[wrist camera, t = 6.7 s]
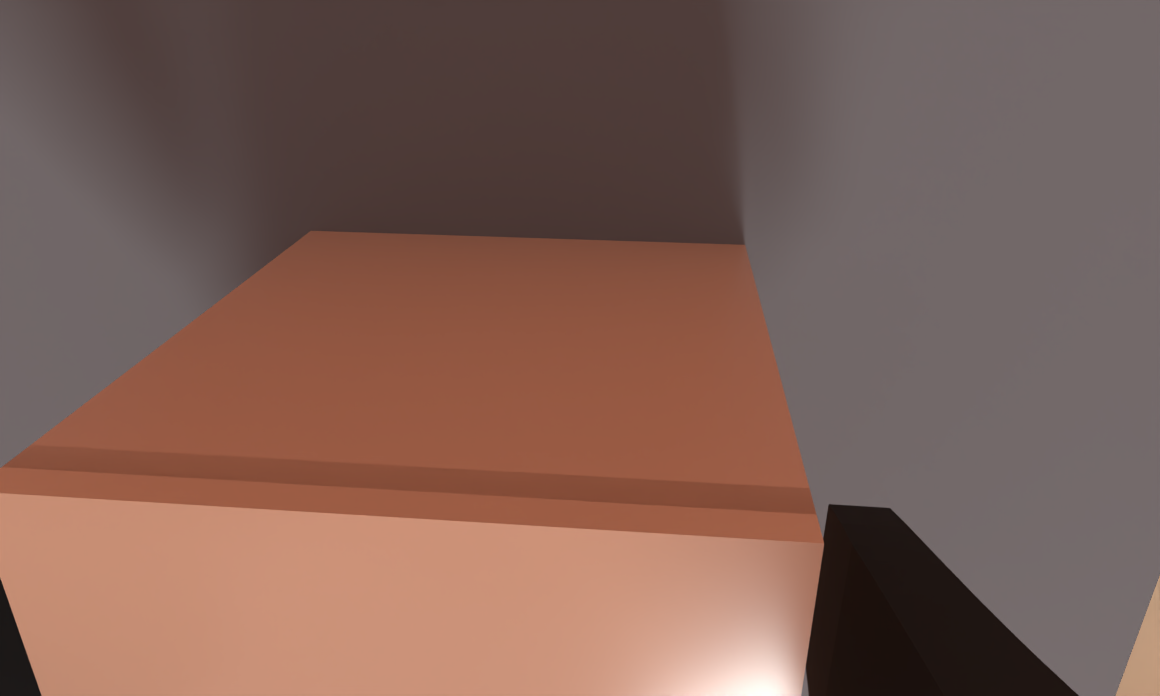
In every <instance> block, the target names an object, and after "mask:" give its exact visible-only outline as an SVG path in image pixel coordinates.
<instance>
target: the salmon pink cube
mask: <svg viewBox="0 0 1160 696" xmlns="http://www.w3.org/2000/svg"><path fill="white" fill-rule="evenodd" d="M823 548H824V541H823V537H822V533H821V530H820V526H819V522H818V518H817V514H816V511H815V507H814V503H813V499H812V496H811V492H810V488H809V484H808V480H807V477H806V473H805V469H804V465H803V462H802V458H801V454H800V450H799V446H798V443H797V439H796V435H795V431H794V428H793V424H792V420H791V416H790V412H789V409H788V405H787V401H786V397H785V393H784V390H783V386H782V382H781V378H780V375H779V371H778V367H777V363H776V359H775V356H774V352H773V348H772V344H771V341H770V337H769V333H768V329H767V325H766V322H765V318H764V314H763V310H762V307H761V303H760V299H759V295H758V291H757V288H756V284H755V280H754V276H753V273H752V269H751V265H750V261H749V257H748V254H747V250H746V246H745V245H734V244H703V243H672V242H641V241H610V240H580V239H549V238H518V237H487V236H456V235H426V234H395V233H364V232H333V231H310V232H309V233H307V234H306V235H305V236H303V237H302V238H301V239H300V240H298V241H297V242H296V243H294V244H293V245H292V246H290V247H289V248H288V249H286V250H285V251H284V252H283V253H281V254H280V255H279V256H277V257H276V258H275V259H273V260H272V261H271V262H269V263H268V264H267V265H266V266H264V267H263V268H262V269H260V270H259V271H258V272H256V273H255V274H254V275H252V276H251V277H250V278H249V279H247V280H246V281H245V282H243V283H242V284H241V285H239V286H238V287H237V288H235V289H234V290H233V291H231V292H230V293H229V294H228V295H226V296H225V297H224V298H222V299H221V300H220V301H218V302H217V303H216V304H214V305H213V306H212V307H211V308H209V309H208V310H207V311H205V312H204V313H203V314H201V315H200V316H199V317H197V318H196V319H195V320H194V321H192V322H191V323H190V324H188V325H187V326H186V327H184V328H183V329H182V330H180V331H179V332H178V333H177V334H175V335H174V336H173V337H171V338H170V339H169V340H167V341H166V342H165V343H163V344H162V345H161V346H160V347H158V348H157V349H156V350H154V351H153V352H152V353H150V354H149V355H148V356H146V357H145V358H144V359H143V360H141V361H140V362H139V363H137V364H136V365H135V366H133V367H132V368H131V369H129V370H128V371H127V372H125V373H124V374H123V375H122V376H120V377H119V378H118V379H116V380H115V381H114V382H112V383H111V384H110V385H108V386H107V387H106V388H105V389H103V390H102V391H101V392H99V393H98V394H97V395H95V396H94V397H93V398H91V399H90V400H89V401H88V402H86V403H85V404H84V405H82V406H81V407H80V408H78V409H77V410H76V411H74V412H73V413H72V414H71V415H69V416H68V417H67V418H65V419H64V420H63V421H61V422H60V423H59V424H57V425H56V426H55V427H54V428H52V429H51V430H50V431H48V432H47V433H46V434H44V435H43V436H42V437H40V438H39V439H38V440H37V441H35V442H34V443H33V444H31V445H30V446H29V447H27V448H26V449H25V450H23V451H22V452H21V453H19V454H18V455H17V456H16V457H14V458H13V459H12V460H10V461H9V462H8V463H6V464H5V465H4V466H2V467H1V468H0V578H1V581H2V584H3V587H4V590H5V593H6V595H7V598H8V601H9V604H10V607H11V610H12V613H13V615H14V618H15V621H16V624H17V627H18V630H19V633H20V635H21V638H22V641H23V644H24V647H25V650H26V653H27V655H28V658H29V661H30V664H31V667H32V670H33V673H34V675H35V678H36V681H37V684H38V687H39V690H40V693H41V695H42V696H801V693H802V687H803V680H804V673H805V667H806V660H807V654H808V647H809V640H810V634H811V627H812V621H813V614H814V607H815V601H816V594H817V588H818V581H819V574H820V568H821V561H822V555H823Z"/></svg>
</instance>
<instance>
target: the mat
mask: <svg viewBox="0 0 1160 696" xmlns="http://www.w3.org/2000/svg"><path fill="white" fill-rule="evenodd" d="M310 231H333V232H364V233H395V234H426V235H456V236H487V237H518V238H549V239H580V240H610V241H641V242H672V243H703V244H734V245H745V246H746V250H747V254H748V257H749V261H750V265H751V269H752V273H753V276H754V280H755V284H756V288H757V291H758V295H759V299H760V303H761V307H762V310H763V314H764V318H765V322H766V325H767V329H768V333H769V337H770V341H771V344H772V348H773V352H774V356H775V359H776V363H777V367H778V371H779V375H780V378H781V382H782V386H783V390H784V393H785V397H786V401H787V405H788V409H789V412H790V416H791V420H792V424H793V428H794V431H795V435H796V439H797V443H798V446H799V450H800V454H801V458H802V462H803V465H804V469H805V473H806V477H807V480H808V484H809V488H810V492H811V496H812V499H813V503H814V507H815V511H816V514H817V518H818V522H819V526H820V530H821V533H822V537H824V530H825V524H826V518H827V511H828V505H829V504H836V505H852V506H868V507H884V508H891V509H892V510H893V511H894V512H895V513H896V514H897V515H898V516H899V517H900V518H901V519H902V520H903V521H904V522H905V523H906V524H907V525H908V526H909V527H910V528H911V530H912V531H913V532H914V533H915V534H916V535H917V536H918V537H919V538H920V539H921V540H922V541H923V542H924V543H925V544H926V545H927V546H928V547H929V548H930V549H931V550H932V551H933V552H934V554H935V555H936V556H937V557H938V558H939V559H940V560H941V561H942V562H943V563H944V564H945V565H946V566H947V567H948V568H949V569H950V570H951V571H952V572H953V573H954V574H955V575H956V576H957V577H958V578H959V579H960V580H961V582H962V583H963V584H964V585H965V586H966V587H967V588H968V589H969V590H970V591H971V592H972V593H973V594H974V595H975V596H976V597H977V598H978V599H979V600H980V601H981V602H982V603H983V604H984V605H985V606H986V607H987V608H988V609H989V610H990V611H991V612H992V613H993V614H994V615H995V616H996V617H997V618H998V619H999V620H1000V621H1001V622H1002V623H1003V624H1004V625H1005V626H1006V627H1007V628H1008V629H1009V630H1010V631H1011V632H1012V633H1013V634H1014V635H1015V636H1016V637H1017V638H1018V639H1019V640H1020V641H1021V642H1022V643H1023V644H1024V645H1026V646H1027V647H1028V648H1029V649H1030V650H1031V651H1032V652H1033V653H1034V654H1035V655H1036V656H1037V657H1038V658H1039V659H1040V660H1041V661H1042V662H1043V663H1044V664H1045V665H1047V666H1048V667H1049V668H1050V669H1051V670H1052V671H1053V672H1054V673H1055V674H1056V675H1057V676H1058V677H1059V678H1060V679H1062V680H1063V681H1064V682H1065V683H1066V684H1067V685H1068V686H1069V687H1070V688H1071V689H1072V690H1073V691H1074V692H1076V693H1077V694H1078V695H1079V696H1115V695H1116V692H1117V690H1118V687H1119V684H1120V682H1121V679H1122V676H1123V673H1124V671H1125V668H1126V665H1127V663H1128V660H1129V657H1130V654H1131V652H1132V649H1133V646H1134V644H1135V641H1136V638H1137V635H1138V633H1139V630H1140V627H1141V625H1142V622H1143V619H1144V616H1145V614H1146V611H1147V608H1148V605H1149V603H1150V600H1151V597H1152V595H1153V592H1154V589H1155V586H1156V584H1157V581H1158V578H1159V576H1160V0H0V468H1V467H2V466H4V465H5V464H6V463H8V462H9V461H10V460H12V459H13V458H14V457H16V456H17V455H18V454H19V453H21V452H22V451H23V450H25V449H26V448H27V447H29V446H30V445H31V444H33V443H34V442H35V441H37V440H38V439H39V438H40V437H42V436H43V435H44V434H46V433H47V432H48V431H50V430H51V429H52V428H54V427H55V426H56V425H57V424H59V423H60V422H61V421H63V420H64V419H65V418H67V417H68V416H69V415H71V414H72V413H73V412H74V411H76V410H77V409H78V408H80V407H81V406H82V405H84V404H85V403H86V402H88V401H89V400H90V399H91V398H93V397H94V396H95V395H97V394H98V393H99V392H101V391H102V390H103V389H105V388H106V387H107V386H108V385H110V384H111V383H112V382H114V381H115V380H116V379H118V378H119V377H120V376H122V375H123V374H124V373H125V372H127V371H128V370H129V369H131V368H132V367H133V366H135V365H136V364H137V363H139V362H140V361H141V360H143V359H144V358H145V357H146V356H148V355H149V354H150V353H152V352H153V351H154V350H156V349H157V348H158V347H160V346H161V345H162V344H163V343H165V342H166V341H167V340H169V339H170V338H171V337H173V336H174V335H175V334H177V333H178V332H179V331H180V330H182V329H183V328H184V327H186V326H187V325H188V324H190V323H191V322H192V321H194V320H195V319H196V318H197V317H199V316H200V315H201V314H203V313H204V312H205V311H207V310H208V309H209V308H211V307H212V306H213V305H214V304H216V303H217V302H218V301H220V300H221V299H222V298H224V297H225V296H226V295H228V294H229V293H230V292H231V291H233V290H234V289H235V288H237V287H238V286H239V285H241V284H242V283H243V282H245V281H246V280H247V279H249V278H250V277H251V276H252V275H254V274H255V273H256V272H258V271H259V270H260V269H262V268H263V267H264V266H266V265H267V264H268V263H269V262H271V261H272V260H273V259H275V258H276V257H277V256H279V255H280V254H281V253H283V252H284V251H285V250H286V249H288V248H289V247H290V246H292V245H293V244H294V243H296V242H297V241H298V240H300V239H301V238H302V237H303V236H305V235H306V234H307V233H309V232H310ZM801 696H809V693H808V684H807V674H806V667H805V673H804V680H803V687H802V693H801Z"/></svg>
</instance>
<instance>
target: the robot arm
mask: <svg viewBox="0 0 1160 696" xmlns="http://www.w3.org/2000/svg"><path fill="white" fill-rule="evenodd" d="M823 541H824V548H823V555H822V561H821V568H820V574H819V581H818V588H817V594H816V601H815V607H814V614H813V621H812V627H811V634H810V640H809V647H808V654H807V660H806V674H807V684H808V693H809V696H1079V695H1078V694H1077V693H1076V692H1074V691H1073V690H1072V689H1071V688H1070V687H1069V686H1068V685H1067V684H1066V683H1065V682H1064V681H1063V680H1062V679H1060V678H1059V677H1058V676H1057V675H1056V674H1055V673H1054V672H1053V671H1052V670H1051V669H1050V668H1049V667H1048V666H1047V665H1045V664H1044V663H1043V662H1042V661H1041V660H1040V659H1039V658H1038V657H1037V656H1036V655H1035V654H1034V653H1033V652H1032V651H1031V650H1030V649H1029V648H1028V647H1027V646H1026V645H1024V644H1023V643H1022V642H1021V641H1020V640H1019V639H1018V638H1017V637H1016V636H1015V635H1014V634H1013V633H1012V632H1011V631H1010V630H1009V629H1008V628H1007V627H1006V626H1005V625H1004V624H1003V623H1002V622H1001V621H1000V620H999V619H998V618H997V617H996V616H995V615H994V614H993V613H992V612H991V611H990V610H989V609H988V608H987V607H986V606H985V605H984V604H983V603H982V602H981V601H980V600H979V599H978V598H977V597H976V596H975V595H974V594H973V593H972V592H971V591H970V590H969V589H968V588H967V587H966V586H965V585H964V584H963V583H962V582H961V580H960V579H959V578H958V577H957V576H956V575H955V574H954V573H953V572H952V571H951V570H950V569H949V568H948V567H947V566H946V565H945V564H944V563H943V562H942V561H941V560H940V559H939V558H938V557H937V556H936V555H935V554H934V552H933V551H932V550H931V549H930V548H929V547H928V546H927V545H926V544H925V543H924V542H923V541H922V540H921V539H920V538H919V537H918V536H917V535H916V534H915V533H914V532H913V531H912V530H911V528H910V527H909V526H908V525H907V524H906V523H905V522H904V521H903V520H902V519H901V518H900V517H899V516H898V515H897V514H896V513H895V512H894V511H893V510H892V509H891V508H884V507H868V506H852V505H836V504H829V505H828V511H827V518H826V524H825V530H824V537H823ZM0 696H42V695H41V693H40V690H39V687H38V684H37V681H36V678H35V675H34V673H33V670H32V667H31V664H30V661H29V658H28V655H27V653H26V650H25V647H24V644H23V641H22V638H21V635H20V633H19V630H18V627H17V624H16V621H15V618H14V615H13V613H12V610H11V607H10V604H9V601H8V598H7V595H6V593H5V590H4V587H3V584H2V581H1V578H0Z"/></svg>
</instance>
